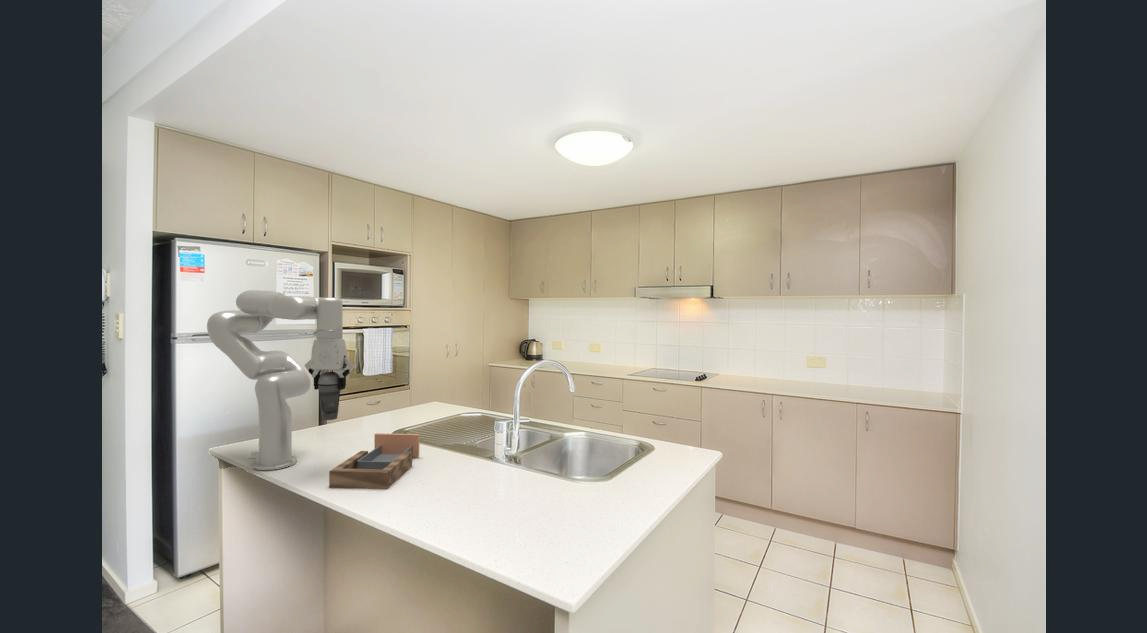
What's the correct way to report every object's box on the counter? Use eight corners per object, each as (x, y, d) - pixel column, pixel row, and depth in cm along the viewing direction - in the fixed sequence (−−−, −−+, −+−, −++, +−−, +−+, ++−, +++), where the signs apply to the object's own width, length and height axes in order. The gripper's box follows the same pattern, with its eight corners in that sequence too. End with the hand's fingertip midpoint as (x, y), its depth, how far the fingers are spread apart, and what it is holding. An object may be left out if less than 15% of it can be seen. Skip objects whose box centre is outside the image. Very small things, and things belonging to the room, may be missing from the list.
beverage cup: (334, 421, 152) (335, 359, 151) (312, 421, 152) (312, 359, 152) (346, 416, 159) (346, 357, 159) (324, 415, 159) (325, 356, 159)
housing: (361, 465, 163) (361, 450, 163) (412, 466, 163) (412, 451, 163) (329, 487, 143) (329, 471, 143) (387, 489, 143) (387, 472, 143)
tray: (376, 454, 173) (376, 432, 173) (419, 455, 173) (419, 433, 173) (350, 473, 154) (350, 448, 154) (398, 474, 154) (398, 449, 153)
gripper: (296, 335, 152) (296, 390, 152) (350, 336, 151) (350, 391, 151) (310, 334, 159) (310, 386, 159) (361, 334, 158) (361, 387, 159)
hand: (329, 388), depth 155 cm, fingers closed on beverage cup, 7 cm apart
